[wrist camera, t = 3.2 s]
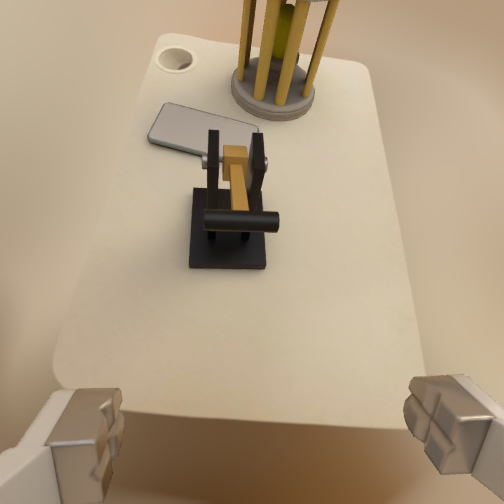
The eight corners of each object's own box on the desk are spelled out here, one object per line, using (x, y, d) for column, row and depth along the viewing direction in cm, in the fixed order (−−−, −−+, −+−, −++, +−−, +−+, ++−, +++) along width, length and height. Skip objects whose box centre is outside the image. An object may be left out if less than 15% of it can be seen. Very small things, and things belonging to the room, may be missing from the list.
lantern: (261, 131, 48) (306, -105, 26) (215, 77, 53) (220, -163, 30) (328, 106, 53) (415, -111, 31) (281, 58, 57) (327, -161, 35)
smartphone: (249, 165, 43) (145, 137, 43) (248, 170, 44) (146, 143, 44) (260, 125, 47) (164, 100, 47) (259, 130, 48) (165, 105, 48)
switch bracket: (264, 269, 37) (292, 202, 25) (189, 268, 36) (180, 197, 24) (260, 196, 42) (281, 110, 30) (193, 193, 41) (187, 102, 29)
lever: (276, 242, 21) (281, 212, 20) (203, 240, 21) (203, 209, 19) (258, 170, 31) (261, 146, 29) (207, 167, 30) (208, 143, 29)
